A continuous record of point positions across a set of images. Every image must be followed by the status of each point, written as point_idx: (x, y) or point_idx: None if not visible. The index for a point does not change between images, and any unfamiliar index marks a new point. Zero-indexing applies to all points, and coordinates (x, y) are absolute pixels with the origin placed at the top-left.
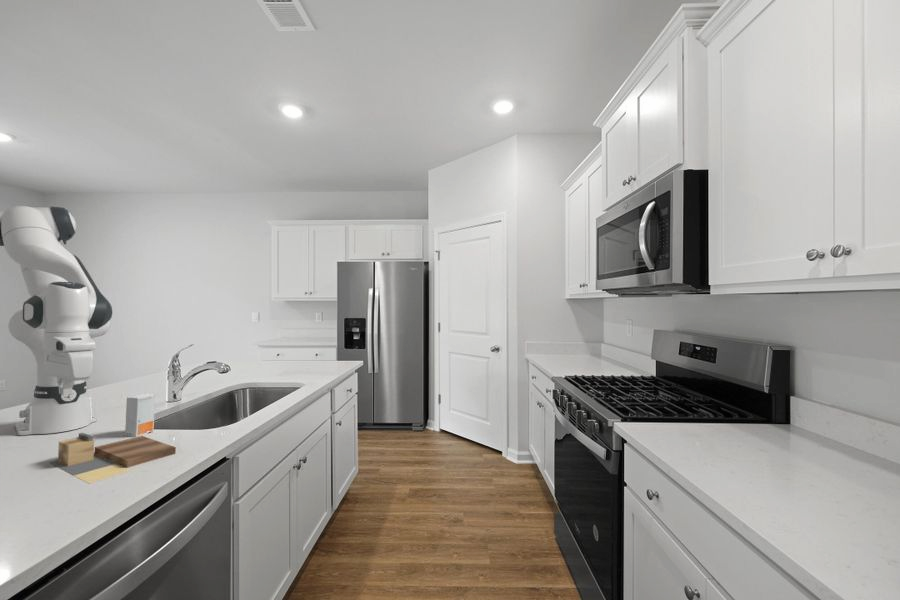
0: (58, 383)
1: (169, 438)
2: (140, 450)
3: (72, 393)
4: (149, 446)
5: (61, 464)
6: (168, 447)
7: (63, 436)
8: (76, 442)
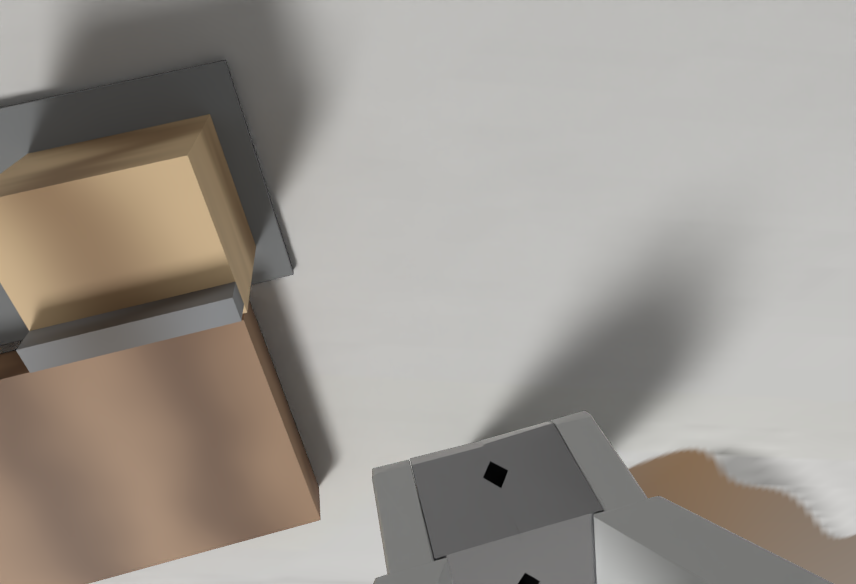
0: (718, 575)
1: (300, 580)
2: None
3: None
4: (26, 541)
5: (105, 124)
6: None
7: (829, 188)
8: (51, 260)
